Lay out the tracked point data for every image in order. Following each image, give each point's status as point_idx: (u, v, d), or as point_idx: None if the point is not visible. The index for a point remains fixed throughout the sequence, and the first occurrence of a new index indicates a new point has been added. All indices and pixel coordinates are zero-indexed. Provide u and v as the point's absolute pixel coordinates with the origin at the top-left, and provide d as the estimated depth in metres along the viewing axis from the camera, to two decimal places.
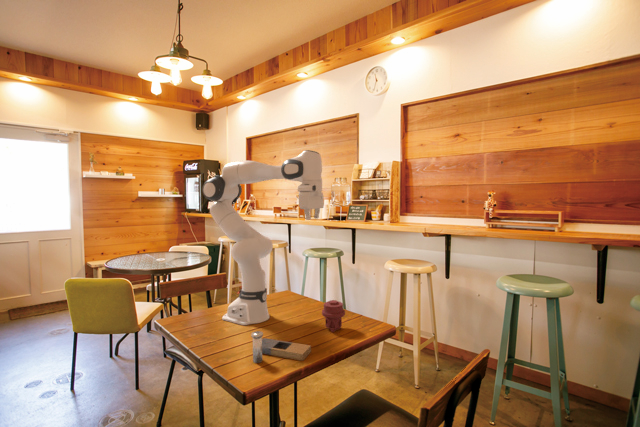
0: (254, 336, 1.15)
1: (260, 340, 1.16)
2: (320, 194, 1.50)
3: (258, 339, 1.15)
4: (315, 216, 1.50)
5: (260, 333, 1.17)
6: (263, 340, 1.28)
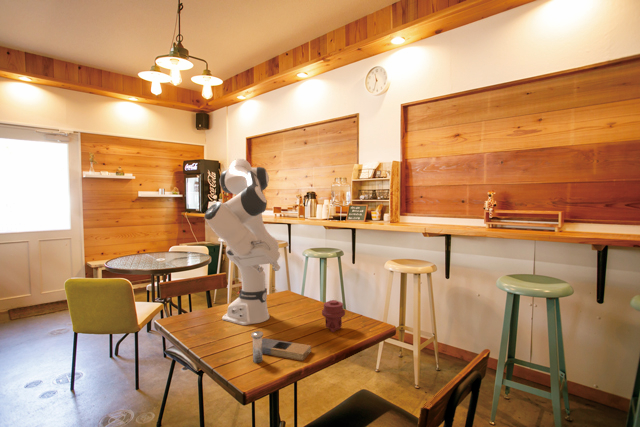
0: (254, 336, 1.15)
1: (260, 340, 1.16)
2: (256, 251, 1.09)
3: (258, 339, 1.15)
4: None
5: (260, 333, 1.17)
6: (263, 340, 1.28)
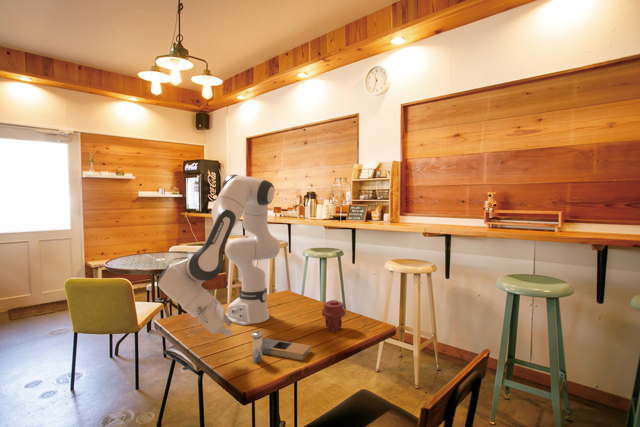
0: (254, 336, 1.15)
1: (260, 340, 1.16)
2: None
3: (258, 339, 1.15)
4: None
5: (260, 333, 1.17)
6: (263, 340, 1.28)
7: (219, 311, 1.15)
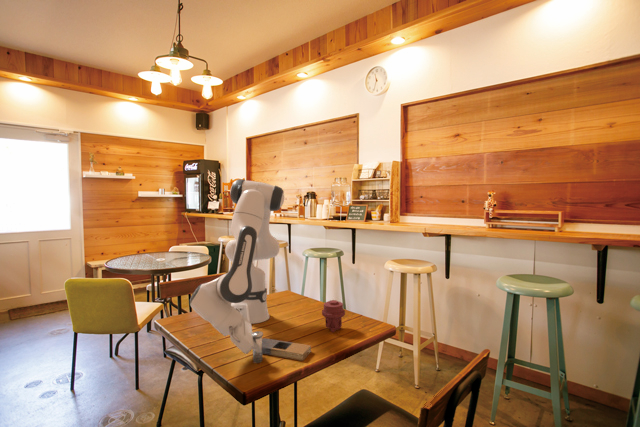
0: (254, 336, 1.15)
1: (260, 340, 1.16)
2: None
3: (258, 339, 1.15)
4: None
5: (260, 333, 1.17)
6: (263, 340, 1.28)
7: (248, 329, 1.17)
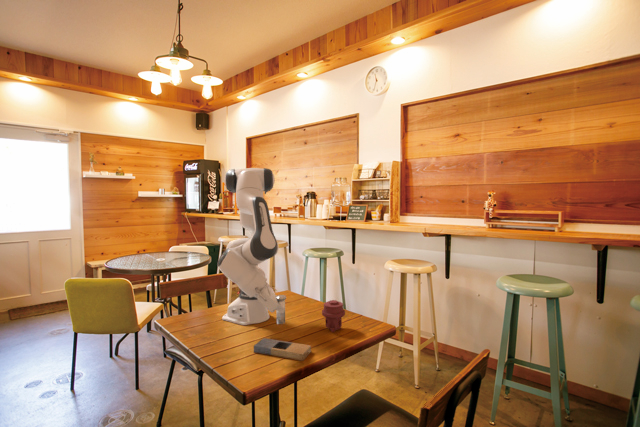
0: (278, 298, 1.21)
1: (283, 303, 1.22)
2: None
3: (282, 301, 1.22)
4: None
5: (283, 296, 1.23)
6: (263, 340, 1.28)
7: (272, 292, 1.23)
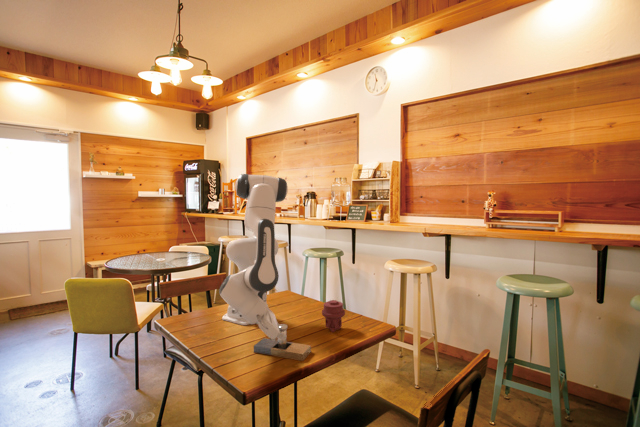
0: (279, 329, 1.21)
1: (285, 333, 1.23)
2: None
3: (283, 331, 1.22)
4: None
5: (285, 326, 1.23)
6: (263, 340, 1.28)
7: (273, 318, 1.24)
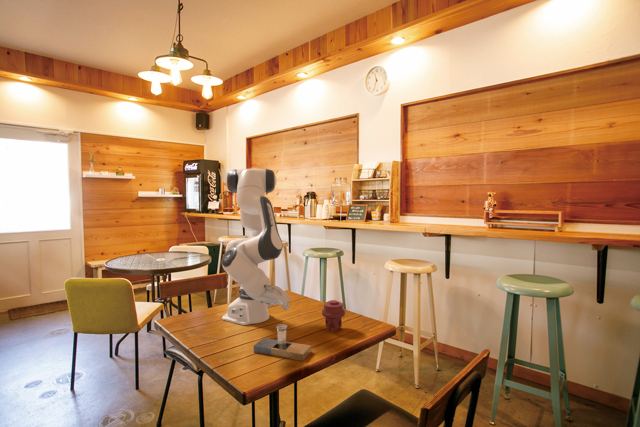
0: (279, 328, 1.22)
1: (285, 333, 1.23)
2: (268, 295, 1.16)
3: (283, 331, 1.22)
4: None
5: (284, 326, 1.23)
6: (263, 340, 1.28)
7: None
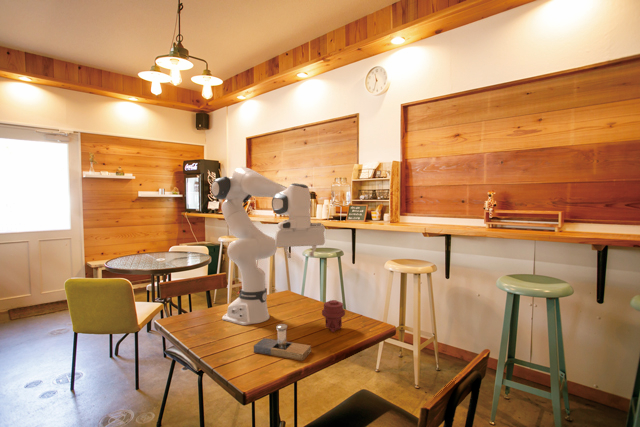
0: (279, 328, 1.22)
1: (285, 333, 1.23)
2: (313, 230, 1.35)
3: (283, 331, 1.22)
4: None
5: (284, 326, 1.23)
6: (263, 340, 1.28)
7: None
